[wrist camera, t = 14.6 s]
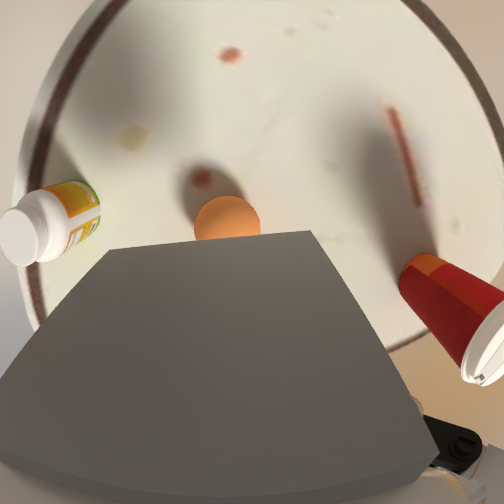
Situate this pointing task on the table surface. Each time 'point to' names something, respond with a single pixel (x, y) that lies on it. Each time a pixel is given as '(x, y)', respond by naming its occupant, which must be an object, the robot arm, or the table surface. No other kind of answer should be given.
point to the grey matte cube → (212, 382)
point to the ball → (226, 219)
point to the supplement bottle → (49, 222)
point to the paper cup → (458, 315)
